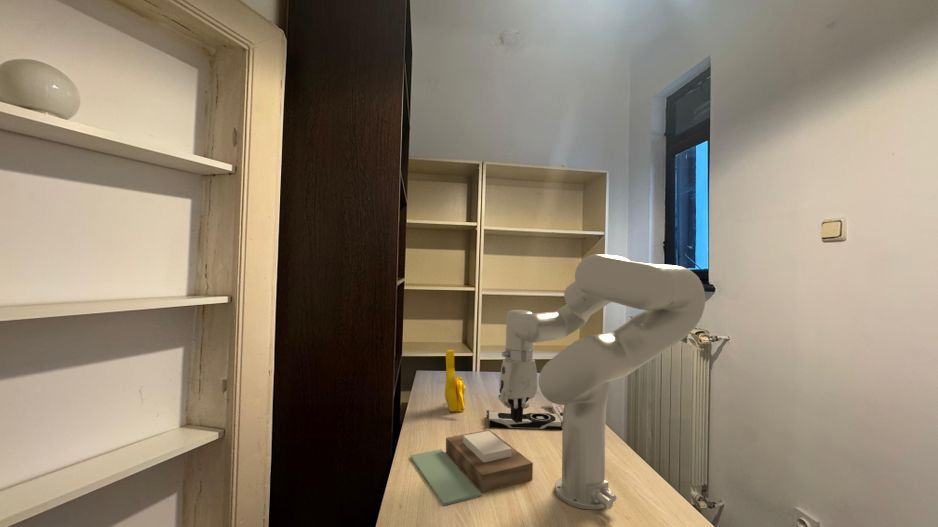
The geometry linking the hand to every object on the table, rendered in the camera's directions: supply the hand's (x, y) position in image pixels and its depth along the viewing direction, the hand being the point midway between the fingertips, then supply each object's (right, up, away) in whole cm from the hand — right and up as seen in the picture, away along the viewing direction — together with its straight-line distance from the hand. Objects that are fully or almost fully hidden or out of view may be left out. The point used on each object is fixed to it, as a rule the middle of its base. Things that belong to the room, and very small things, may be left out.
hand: (516, 420), depth 106 cm
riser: (-9, -10, -5) cm, 14 cm away
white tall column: (+20, -12, +30) cm, 38 cm away
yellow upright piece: (-18, -11, +36) cm, 41 cm away
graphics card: (+5, -11, +23) cm, 26 cm away
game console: (+5, -12, +47) cm, 49 cm away
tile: (-9, -6, -5) cm, 11 cm away
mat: (-20, -9, -11) cm, 24 cm away
